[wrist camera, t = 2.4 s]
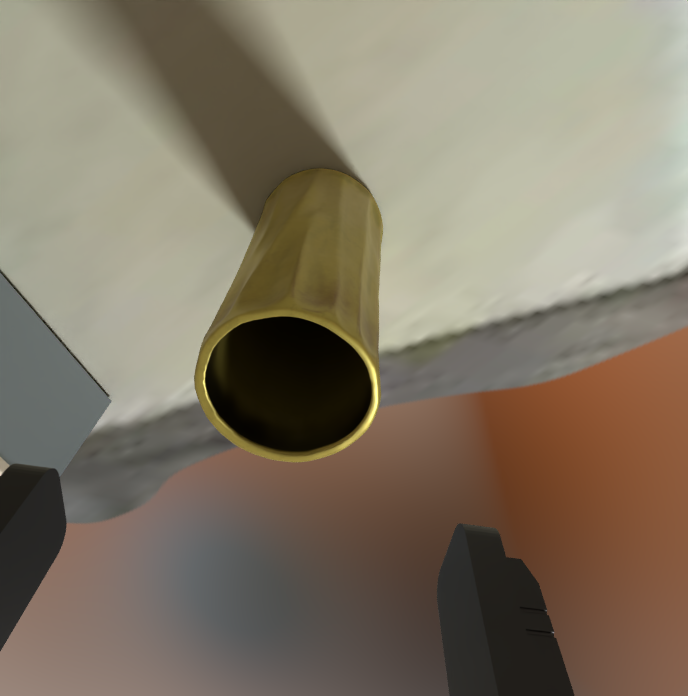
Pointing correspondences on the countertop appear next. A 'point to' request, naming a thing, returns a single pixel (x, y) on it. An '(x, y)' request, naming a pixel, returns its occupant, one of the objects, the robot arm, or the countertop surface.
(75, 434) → the grey flat panel
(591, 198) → the countertop surface
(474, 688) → the robot arm
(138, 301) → the countertop surface
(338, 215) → the vase
